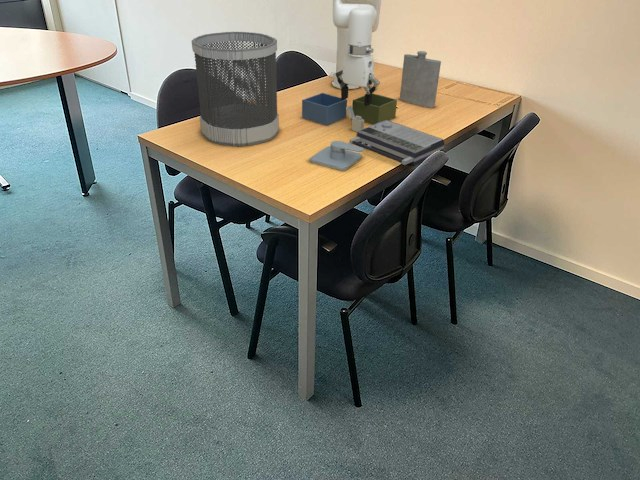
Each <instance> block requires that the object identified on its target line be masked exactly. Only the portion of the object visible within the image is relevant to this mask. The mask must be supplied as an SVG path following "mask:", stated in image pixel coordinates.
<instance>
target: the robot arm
mask: <svg viewBox="0 0 640 480" xmlns="http://www.w3.org/2000/svg"><path fill="white" fill-rule="evenodd" d="M381 6H382V0H332V23H333V26H335V27H336V35H337V36H336V38H337V39H336V43H337V44H336V64H335V65H336V68H335V71H331V72H330V74H329V78H331V79H333V81H332V82H331V85H332V87H334V88H336V89H339V90H340V98H341V100H344V99H347V100H348V99H349V90H356V89H359V88H363V90H364V91H365V94H364V95H365V100H364V105H365V106H368V105H370V104H371V102H372V93H373V94H375V92H376V91H377V90H378V87H379V86H380V84H381V82H380V80H379V79H378V78H377V77H375V66H374V65H375V64H374V57H373V53H374V48H372V37H373V33H374V32H376V31H377V30H378V27H379V23H380V15H381Z"/></svg>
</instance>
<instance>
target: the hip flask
mask: <svg viewBox="0 0 640 480" xmlns="http://www.w3.org/2000/svg"><path fill="white" fill-rule="evenodd" d="M427 54H428V52H427V51H425V50H419V51H417V53H416V55H415V54H410V53H409V54H408V53H406V54H404V55H403V64H402V71H401V73H402V74H401V84H400V91H399V92H400V93H399V100H400V101H402V102H404V103H409V104H412V105H415V106H419V107H424V108H429V109H434V108H435V106H436V99H437V92H438V85H439V78H440V71H441V65H442V61H441V60H438V59H431V58H427Z"/></svg>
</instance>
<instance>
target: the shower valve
mask: <svg viewBox="0 0 640 480" xmlns="http://www.w3.org/2000/svg"><path fill="white" fill-rule="evenodd" d="M364 150H365V148H362V147H360V146H357V145H355V144H350V143H349V142H345V141H341V140H334V141H331V142H330V145H328V146H326V147H325V148H323V149H322V150H320V151H318V152H317V153H315V154H314V155H312V156H310V157H309V162H310V163H313V164H316V165H320V166H323V167H327V168H330V169H334V170H338V171H346V170H348V169H349V168H350V167H352V166H353V165H354V164H356V163H357V162H358V161H360V160H361V159H362V157H363V155H362V153H361V152H363V151H364Z"/></svg>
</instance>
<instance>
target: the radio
mask: <svg viewBox="0 0 640 480" xmlns="http://www.w3.org/2000/svg"><path fill="white" fill-rule="evenodd" d="M348 143H349V144H352V145H355V146H359V147H362V148H364V150H368V151H370V152H372V153H374V154H378V155H380V156H382V157H385V158H387V159H390V160H393V161H396V162H398V163H400V164H401V165H404V166H406V165H411V166H413V167H416V166H418V165H419V164H422V163H424V162H425V161H424V160H425V159H426V158H427V157H428V156H429V155H431V154H432V153H434V152H436V151H438V150H440V151H443V152H444V150H445V145H446V143H445V141H444V138H441V137H438V136H436V135H432V134H429V133H427V132H424V131H422V130H421V131H420V130H417V129H415V128H411V127H409V126H406V125H404V124H400V123H397V122H394V121H392V120H385V121H382V122H380V123H377V124H371V125H369V126H366V127H365V126H364V128H363V129H360V130H359V132H356V135H355V137H353V138H350V139H349V142H348ZM423 161H424V162H423ZM421 162H422V163H421Z"/></svg>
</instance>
